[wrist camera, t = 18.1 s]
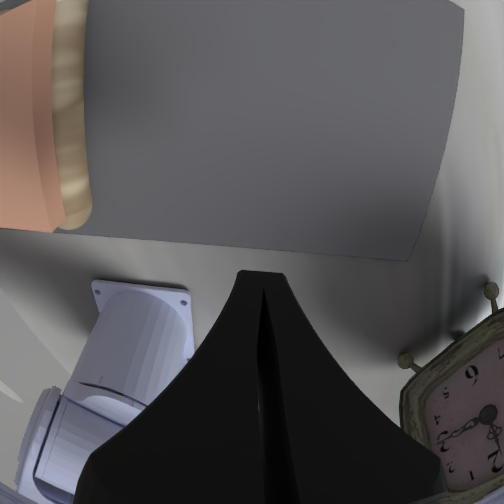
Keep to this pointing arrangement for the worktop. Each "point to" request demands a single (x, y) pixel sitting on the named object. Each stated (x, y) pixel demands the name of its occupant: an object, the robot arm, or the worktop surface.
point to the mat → (268, 121)
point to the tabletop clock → (462, 408)
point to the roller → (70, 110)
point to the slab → (28, 120)
